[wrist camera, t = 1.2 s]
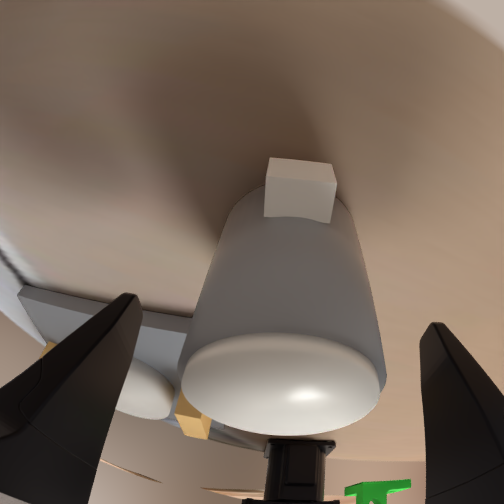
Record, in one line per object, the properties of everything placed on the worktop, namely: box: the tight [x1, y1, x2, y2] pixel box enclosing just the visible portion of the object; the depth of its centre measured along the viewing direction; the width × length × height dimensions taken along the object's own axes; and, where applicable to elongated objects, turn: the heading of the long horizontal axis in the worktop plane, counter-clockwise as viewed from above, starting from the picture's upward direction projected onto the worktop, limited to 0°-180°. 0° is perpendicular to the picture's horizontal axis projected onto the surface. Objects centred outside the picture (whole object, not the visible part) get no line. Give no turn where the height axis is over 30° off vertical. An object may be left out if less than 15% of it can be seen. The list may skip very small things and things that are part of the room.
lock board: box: [17, 285, 225, 440], centre depth 18 cm, size 13×13×4 cm
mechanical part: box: [344, 479, 411, 504], centre depth 39 cm, size 12×6×8 cm, turn 72°
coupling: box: [177, 157, 387, 436], centre depth 9 cm, size 7×5×6 cm
